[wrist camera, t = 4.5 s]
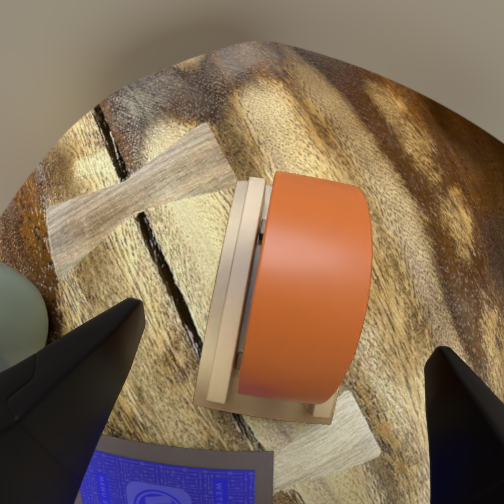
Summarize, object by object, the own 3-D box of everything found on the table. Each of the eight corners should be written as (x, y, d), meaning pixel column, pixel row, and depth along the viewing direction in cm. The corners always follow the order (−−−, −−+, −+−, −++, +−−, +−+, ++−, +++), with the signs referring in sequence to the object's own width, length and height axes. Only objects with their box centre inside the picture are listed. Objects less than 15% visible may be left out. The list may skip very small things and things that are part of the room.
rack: (319, 411, 16) (345, 440, 11) (201, 393, 16) (181, 417, 11) (346, 220, 19) (377, 181, 14) (239, 201, 19) (234, 155, 14)
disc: (298, 384, 14) (346, 435, 6) (241, 375, 14) (228, 422, 6) (321, 228, 16) (375, 141, 8) (269, 219, 16) (282, 121, 8)
